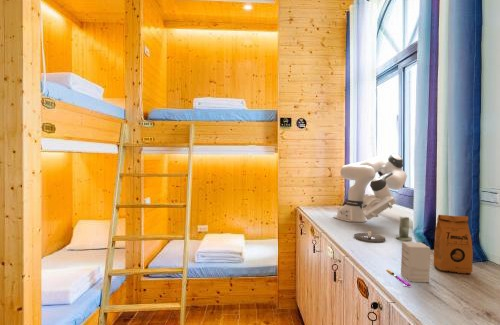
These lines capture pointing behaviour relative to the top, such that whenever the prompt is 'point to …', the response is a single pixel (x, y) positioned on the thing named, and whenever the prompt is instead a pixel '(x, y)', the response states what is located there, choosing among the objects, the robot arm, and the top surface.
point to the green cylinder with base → (404, 229)
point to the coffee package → (453, 244)
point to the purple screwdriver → (399, 278)
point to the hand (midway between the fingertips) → (383, 211)
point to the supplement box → (415, 261)
